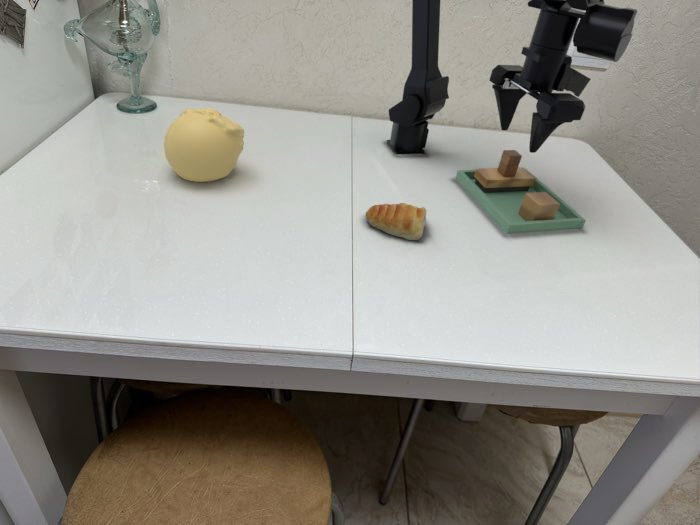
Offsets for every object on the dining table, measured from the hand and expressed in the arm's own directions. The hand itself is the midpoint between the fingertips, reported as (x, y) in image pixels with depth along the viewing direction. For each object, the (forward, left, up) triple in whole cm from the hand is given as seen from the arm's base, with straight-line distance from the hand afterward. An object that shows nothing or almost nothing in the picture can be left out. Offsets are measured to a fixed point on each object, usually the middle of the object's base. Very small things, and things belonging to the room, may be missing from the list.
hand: (517, 140), depth 85 cm
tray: (0, -5, -10) cm, 11 cm away
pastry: (-24, -10, -10) cm, 28 cm away
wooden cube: (0, -11, -9) cm, 14 cm away
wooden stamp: (0, 0, -9) cm, 9 cm away
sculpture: (-52, +10, -10) cm, 54 cm away
